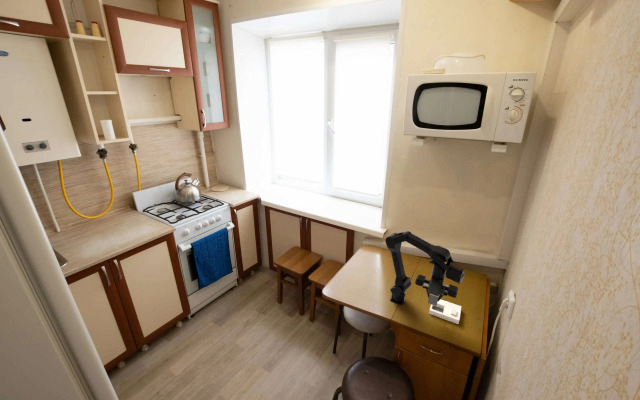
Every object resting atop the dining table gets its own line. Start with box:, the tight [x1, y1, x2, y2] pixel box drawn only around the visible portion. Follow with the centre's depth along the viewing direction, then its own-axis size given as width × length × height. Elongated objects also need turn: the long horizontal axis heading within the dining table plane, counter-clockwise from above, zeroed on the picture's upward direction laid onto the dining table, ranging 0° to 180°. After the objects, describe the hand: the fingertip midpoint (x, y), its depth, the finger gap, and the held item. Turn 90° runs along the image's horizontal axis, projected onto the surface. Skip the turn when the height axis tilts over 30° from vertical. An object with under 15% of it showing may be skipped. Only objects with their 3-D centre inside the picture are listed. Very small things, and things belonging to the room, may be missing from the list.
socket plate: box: [428, 298, 462, 325], centre depth 144 cm, size 14×11×3 cm
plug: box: [427, 294, 439, 306], centre depth 136 cm, size 4×4×8 cm
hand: (433, 299), depth 136 cm, fingers closed on plug, 4 cm apart
